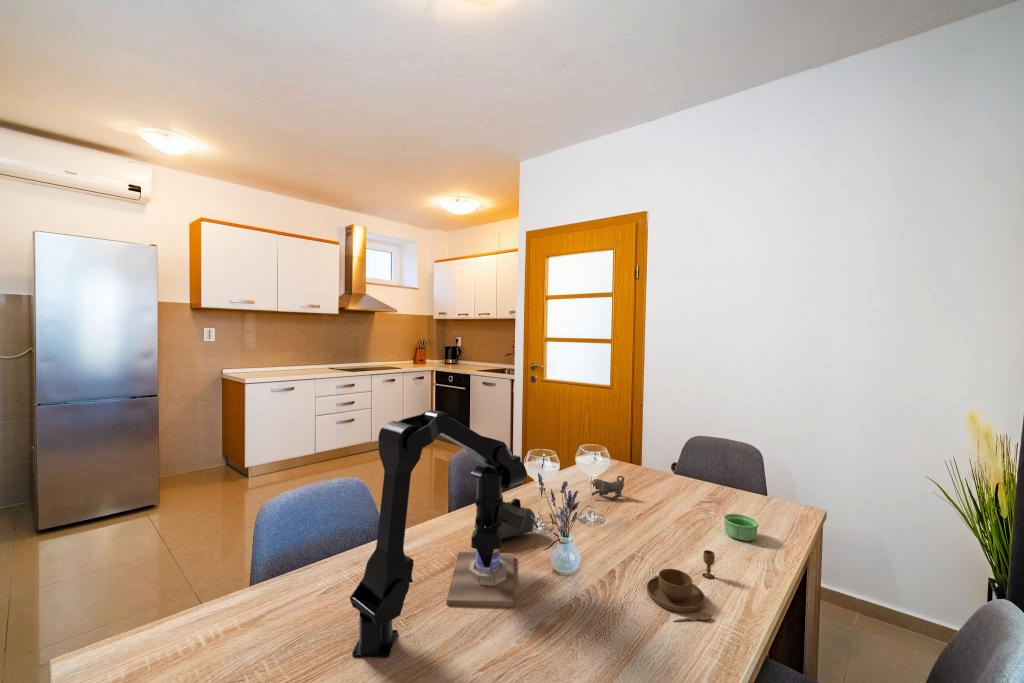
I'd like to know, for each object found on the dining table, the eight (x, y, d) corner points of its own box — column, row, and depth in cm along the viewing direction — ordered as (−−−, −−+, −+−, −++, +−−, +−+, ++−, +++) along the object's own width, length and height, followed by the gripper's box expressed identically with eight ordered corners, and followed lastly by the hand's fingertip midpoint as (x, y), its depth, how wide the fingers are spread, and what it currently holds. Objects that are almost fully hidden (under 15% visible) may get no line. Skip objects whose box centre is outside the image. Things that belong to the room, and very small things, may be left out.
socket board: (513, 607, 92) (513, 592, 92) (446, 605, 92) (446, 590, 92) (513, 557, 112) (513, 545, 112) (458, 556, 112) (458, 544, 112)
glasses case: (524, 526, 130) (525, 500, 130) (543, 541, 121) (544, 513, 121) (468, 538, 122) (468, 510, 121) (484, 556, 112) (484, 525, 112)
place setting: (631, 577, 104) (632, 553, 104) (708, 572, 108) (709, 548, 107) (669, 627, 87) (670, 597, 87) (759, 618, 90) (760, 590, 90)
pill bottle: (496, 579, 98) (496, 536, 98) (472, 576, 99) (473, 533, 99) (501, 566, 104) (502, 525, 103) (479, 563, 105) (480, 523, 104)
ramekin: (727, 539, 124) (727, 524, 124) (720, 526, 133) (720, 511, 132) (762, 544, 122) (762, 528, 122) (752, 530, 130) (753, 515, 130)
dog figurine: (621, 493, 158) (622, 473, 158) (625, 500, 152) (626, 478, 152) (588, 493, 158) (588, 472, 158) (591, 499, 152) (591, 478, 152)
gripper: (525, 510, 92) (523, 584, 92) (523, 480, 110) (521, 542, 111) (471, 509, 92) (470, 583, 92) (479, 479, 110) (477, 541, 111)
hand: (487, 560), depth 101 cm, fingers closed on pill bottle, 5 cm apart
